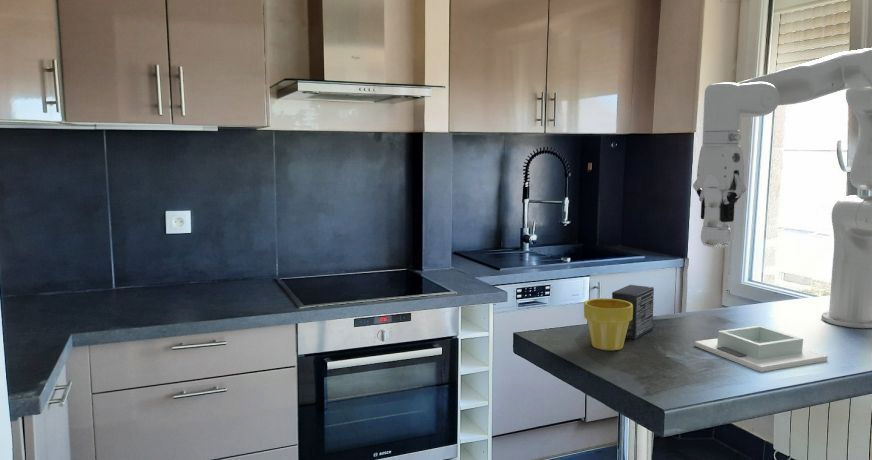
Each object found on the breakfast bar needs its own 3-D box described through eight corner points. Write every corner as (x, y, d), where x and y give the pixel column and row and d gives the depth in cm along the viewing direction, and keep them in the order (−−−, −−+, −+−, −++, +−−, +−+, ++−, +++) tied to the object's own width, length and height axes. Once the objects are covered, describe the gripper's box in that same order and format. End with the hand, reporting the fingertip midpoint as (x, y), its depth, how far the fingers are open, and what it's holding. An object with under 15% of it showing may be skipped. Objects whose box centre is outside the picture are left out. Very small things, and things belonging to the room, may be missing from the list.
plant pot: (587, 337, 152) (588, 295, 151) (633, 342, 148) (635, 299, 147) (579, 350, 143) (580, 306, 141) (628, 355, 139) (630, 310, 137)
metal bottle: (732, 246, 152) (736, 159, 149) (728, 250, 146) (732, 160, 143) (702, 244, 155) (706, 159, 152) (697, 248, 149) (701, 160, 147)
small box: (627, 325, 162) (629, 283, 161) (653, 329, 158) (655, 287, 157) (609, 334, 154) (610, 290, 153) (636, 339, 150) (637, 295, 149)
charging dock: (756, 337, 152) (757, 320, 151) (827, 360, 135) (828, 341, 135) (694, 345, 145) (695, 328, 145) (761, 371, 129) (762, 352, 128)
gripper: (764, 139, 141) (759, 223, 143) (706, 139, 156) (702, 215, 159) (737, 139, 138) (732, 225, 140) (680, 140, 154) (677, 217, 156)
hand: (716, 219), depth 150 cm, fingers closed on metal bottle, 5 cm apart
